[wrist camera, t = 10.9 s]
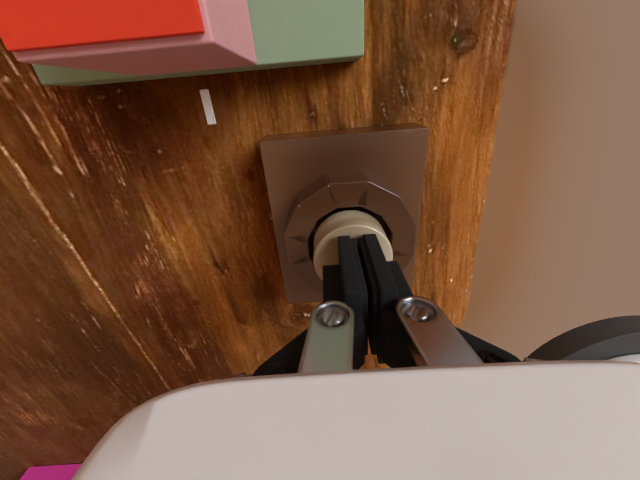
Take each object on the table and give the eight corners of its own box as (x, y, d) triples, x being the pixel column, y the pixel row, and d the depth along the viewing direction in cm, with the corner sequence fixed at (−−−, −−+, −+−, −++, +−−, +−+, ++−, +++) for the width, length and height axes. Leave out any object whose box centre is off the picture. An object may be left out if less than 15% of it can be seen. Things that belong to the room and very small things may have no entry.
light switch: (414, 122, 14) (446, 131, 11) (402, 275, 19) (421, 316, 16) (266, 135, 15) (250, 148, 11) (289, 283, 19) (284, 325, 16)
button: (386, 206, 13) (395, 221, 11) (383, 269, 15) (391, 290, 13) (310, 212, 13) (309, 228, 11) (316, 273, 15) (316, 295, 13)
